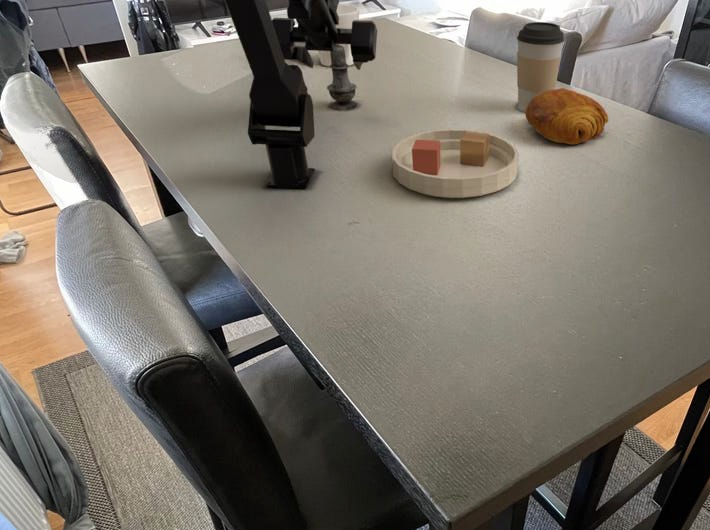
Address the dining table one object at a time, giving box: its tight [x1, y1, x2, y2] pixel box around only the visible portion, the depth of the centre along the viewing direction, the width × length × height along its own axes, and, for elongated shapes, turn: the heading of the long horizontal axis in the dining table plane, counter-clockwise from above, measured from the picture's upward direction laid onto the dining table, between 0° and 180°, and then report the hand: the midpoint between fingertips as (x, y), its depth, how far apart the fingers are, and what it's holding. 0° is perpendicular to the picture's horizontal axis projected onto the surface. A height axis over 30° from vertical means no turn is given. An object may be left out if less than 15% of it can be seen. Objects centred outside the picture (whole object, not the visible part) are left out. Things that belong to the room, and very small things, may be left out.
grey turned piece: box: [326, 44, 358, 111], centre depth 115 cm, size 6×6×12 cm
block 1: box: [412, 140, 441, 175], centre depth 94 cm, size 4×4×4 cm
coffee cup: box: [516, 21, 565, 113], centre depth 115 cm, size 9×9×15 cm
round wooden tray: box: [391, 128, 520, 199], centre depth 95 cm, size 20×20×4 cm
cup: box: [317, 3, 360, 68], centre depth 138 cm, size 12×12×11 cm
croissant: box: [524, 87, 609, 145], centre depth 108 cm, size 14×16×8 cm
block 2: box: [460, 131, 491, 167], centre depth 97 cm, size 4×4×4 cm
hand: (335, 66), depth 112 cm, fingers open, 9 cm apart
